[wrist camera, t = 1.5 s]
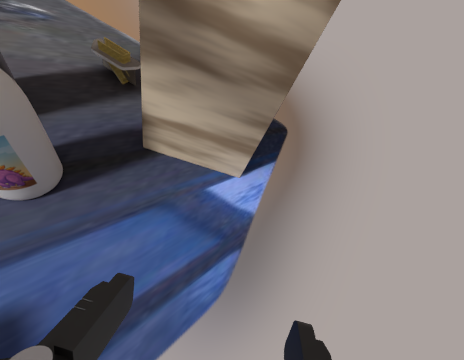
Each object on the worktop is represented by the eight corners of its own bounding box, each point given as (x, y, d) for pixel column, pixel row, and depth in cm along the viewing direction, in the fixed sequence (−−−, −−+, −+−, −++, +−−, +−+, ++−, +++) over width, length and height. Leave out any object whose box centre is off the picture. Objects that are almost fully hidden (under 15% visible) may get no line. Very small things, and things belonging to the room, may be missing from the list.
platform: (131, 115, 41) (128, 83, 35) (52, 65, 42) (39, 27, 37) (171, 90, 48) (174, 60, 43) (104, 48, 49) (99, 14, 44)
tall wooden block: (239, 177, 39) (398, -101, 14) (143, 147, 37) (131, -254, 12) (245, 140, 45) (365, -102, 20) (163, 111, 43) (184, -203, 18)
